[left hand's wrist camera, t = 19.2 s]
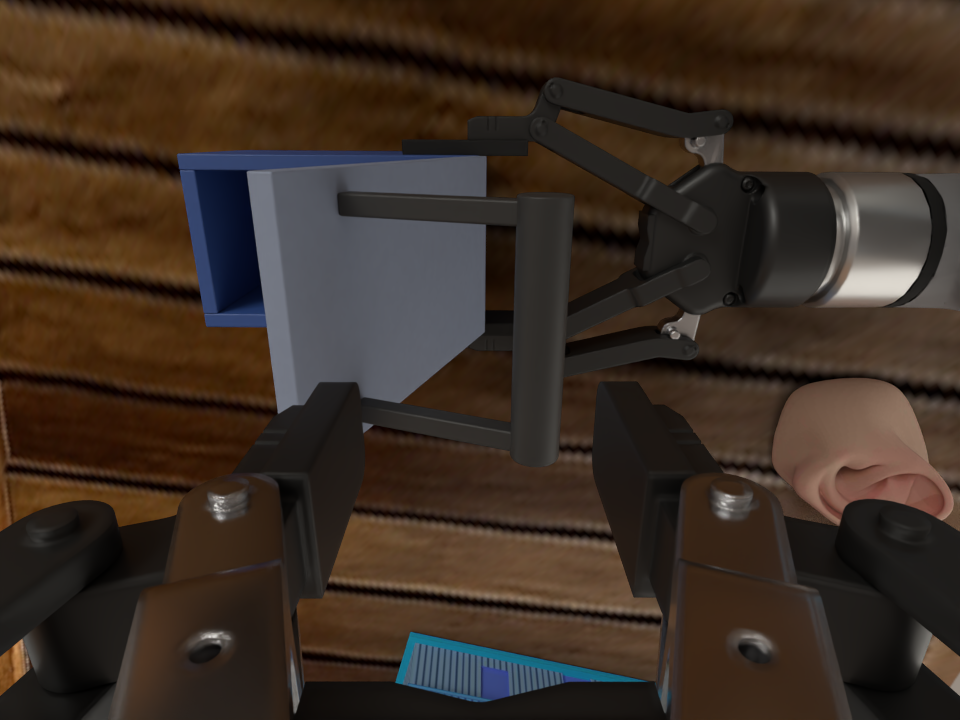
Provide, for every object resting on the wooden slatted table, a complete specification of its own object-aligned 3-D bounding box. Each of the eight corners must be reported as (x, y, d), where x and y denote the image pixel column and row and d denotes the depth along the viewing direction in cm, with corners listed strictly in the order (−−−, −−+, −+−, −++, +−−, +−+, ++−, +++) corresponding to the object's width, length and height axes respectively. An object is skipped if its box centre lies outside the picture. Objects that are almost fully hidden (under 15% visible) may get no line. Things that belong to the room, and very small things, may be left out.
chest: (263, 287, 41) (205, 327, 33) (245, 150, 38) (176, 153, 29) (478, 288, 41) (478, 328, 33) (479, 151, 38) (479, 155, 29)
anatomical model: (782, 423, 40) (954, 369, 39) (757, 399, 44) (913, 348, 43) (813, 567, 45) (969, 523, 43) (788, 534, 48) (930, 493, 47)
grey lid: (285, 475, 18) (528, 534, 16) (245, 170, 15) (544, 179, 12) (471, 330, 32) (616, 348, 30) (471, 155, 29) (634, 158, 26)
